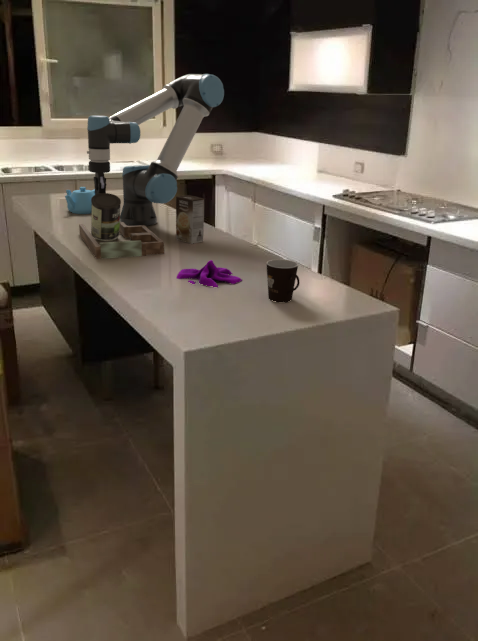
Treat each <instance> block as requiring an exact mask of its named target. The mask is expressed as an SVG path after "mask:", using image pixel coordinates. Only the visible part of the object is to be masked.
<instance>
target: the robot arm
mask: <svg viewBox="0 0 478 641" xmlns="http://www.w3.org/2000/svg"><path fill="white" fill-rule="evenodd" d="M224 96H225V89H224V84H223V82H222V80H221V79H220V78H219V77H218V76H216V75H214V74H210V73H203V74H202V73H188V74H185V75H182V76H180V77H178V78H176V79H174V80H172V81H170V82H169V83H166V84H165V85H163V87H162V89H161V90H159V91H157V92H154V93H152V95H149V96H147V97H145V98H143V99H141V100H139V101H137V102H136V103H134V104H132V105H130V106H128V107H126V108H124V109H122V110H120V111H118V112H117V113H114V114H113V115H111V116H107V115H95V114H94V115H89V116H88V117H87V126H86V127H87V128H86V129H87V144H88V145H87V146H88V147H87V148H88V150H87V151H86V154H87V155H88V159H89V161H88V171H89V172H90V173H94V176H93V182H94V183H93V184H94V189H95V195H96V194H99V193H107V192H106V191H107V178H106V177H105V174H107V173H108V174H109V173H110V172H111V163H110V161H111V149H110V148H111V145H112V144H129V145H130V144H136V143H138V142H139V141H140V140H141V127H140V125H142V124H143V123H146V122H147V121H149V120H151V119H152V118H155V117H156V116H158V115H160V114H162V113H164V112H165V111H168V110H170V109H175V110H176V109H178V107H182V106H183V107H182V109H181V111H180V113H179V115H178V117H177V119H176V120H175V122H174V126H173V127H172V129H171V131H170V133H169V135H168V137H167V139H166V141H165V143H164V145H163V147H162V149H161V151H160V153H159V155H158V157H157V159H156V160H153V161H151V162H150V163H149V164H148V165H129V166H124V167H123V169H122V175H121V178H122V194H123V205H122V208H121V210H120V222H124V223H125V224H126V225H127V226H139V225H145V226H146V227H147V226H153V225H156V224H157V223H158V216H157V213H156V210H155V208H154V204H167V203H169V202H170V201H172V200H173V199H174V198H175V197H176V194H177V192H178V182H177V179H178V178H179V176H178V175H179V174H178V171H177V170H179V167H180V165H181V163H182V161H183V159H184V157H185V155H186V153H187V151H188V150H189V147H190V146H191V142H192V141H193V138H194V137H195V135H196V133H197V131H198V129H199V127H200V124H202V121H203V119H204V117H208V116H210V114H211V112H212V110H213V108H216V107H218V106H220V105H221V103H223V100H224ZM153 203H154V204H153Z"/></svg>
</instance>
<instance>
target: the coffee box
mask: <svg viewBox="0 0 478 641" xmlns="http://www.w3.org/2000/svg"><path fill="white" fill-rule="evenodd" d="M204 223H205V198H203V197H199V196H195V195H191V194H185V195H179V196H175V240H177V241H181V242H184V243H188V244H191V245H192V244H193V243H194V244H197V243H202V242H204V236H205V235H204V231H205V230H204V229H205V228H204V227H205V224H204ZM194 244H193V245H194Z"/></svg>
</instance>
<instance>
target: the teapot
mask: <svg viewBox="0 0 478 641" xmlns="http://www.w3.org/2000/svg"><path fill="white" fill-rule="evenodd" d="M65 192H66V195H64V197H65V200H66V203H67V204H66V205H67V206H66V208H67V210H68V211H69V212H70V213H71V212H72V213H71V214H75V215H76V214H77V215H89V214H90V215H91V212H92V211H91V209H92V203H91V198H92V197H93V196H94V195H95V188H94V189H92V190H90V189H87V187H86V186H80V187H79V189H75V190H73V191H72V190H71V189H66V190H65Z"/></svg>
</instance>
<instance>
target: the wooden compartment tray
mask: <svg viewBox="0 0 478 641" xmlns="http://www.w3.org/2000/svg"><path fill="white" fill-rule="evenodd" d="M78 225H79V226H78V230H79V231H78V232H79V235H80V237H81V239H82V240H83V242H84V243H85V244H86V246H87V248H89V250H90V252H91V253H92V254H93V256H94V258H95V259H96V260H102V259H115V258H117V259H118V258H132V257H133V256H134V257H145V256H150V255H164V254H165V242H164V241H163V240H162V239H161V238H160V237H159V236H157V235H156V234H155V233H154V232H153V231H151V229H149V228H148V227H147V226H145V225H139V226H129V225H126V224H125V223H124V222H120V226H119V235H121V236H122V237H123V238H127V239H128V238H130V240H124V241H102V242H98V240H97V239H95V238H94V237H93V236H92V235H91V231H89V230H88V229H87V227H86V226H85V224H84V223H79V224H78Z"/></svg>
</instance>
